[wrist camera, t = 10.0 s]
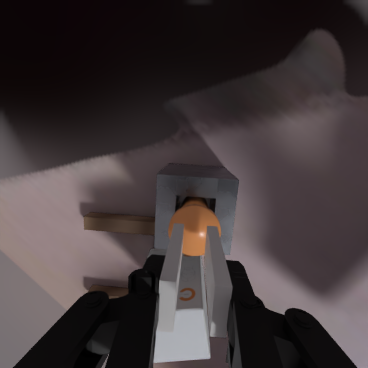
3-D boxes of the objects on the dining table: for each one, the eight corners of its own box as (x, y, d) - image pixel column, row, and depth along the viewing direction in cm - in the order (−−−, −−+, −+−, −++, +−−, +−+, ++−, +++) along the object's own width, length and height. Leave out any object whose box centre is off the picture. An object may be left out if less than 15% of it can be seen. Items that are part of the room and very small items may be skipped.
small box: (156, 282, 34) (134, 366, 22) (149, 247, 33) (121, 315, 20) (205, 277, 34) (211, 361, 21) (200, 242, 32) (203, 307, 20)
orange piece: (215, 189, 23) (223, 209, 17) (212, 225, 24) (218, 258, 18) (176, 186, 24) (169, 204, 17) (174, 223, 24) (166, 253, 18)
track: (218, 222, 32) (220, 227, 30) (210, 306, 35) (210, 316, 33) (90, 212, 32) (83, 216, 30) (93, 295, 35) (87, 304, 34)
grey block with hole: (224, 167, 30) (238, 180, 20) (219, 219, 31) (229, 254, 22) (169, 163, 30) (156, 174, 20) (166, 215, 32) (154, 248, 22)
